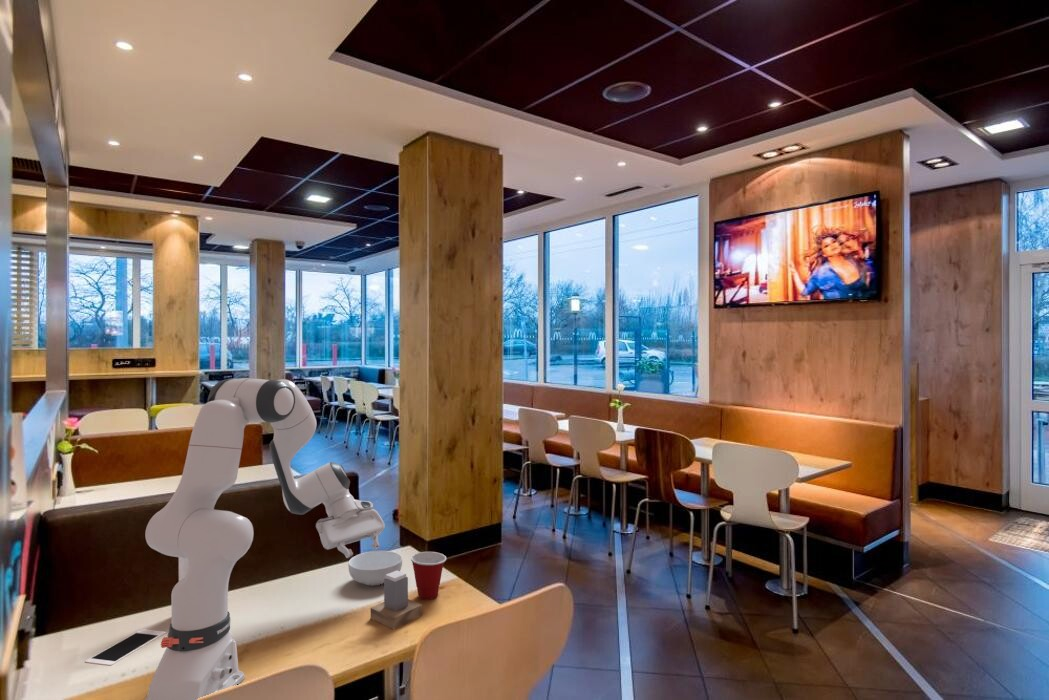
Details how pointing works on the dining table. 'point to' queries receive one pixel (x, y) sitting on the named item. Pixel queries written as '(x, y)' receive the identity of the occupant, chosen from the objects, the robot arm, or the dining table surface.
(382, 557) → the cereal bowl
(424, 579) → the plastic cup
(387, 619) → the base block
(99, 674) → the dining table surface
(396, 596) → the salt shaker
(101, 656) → the cell phone
